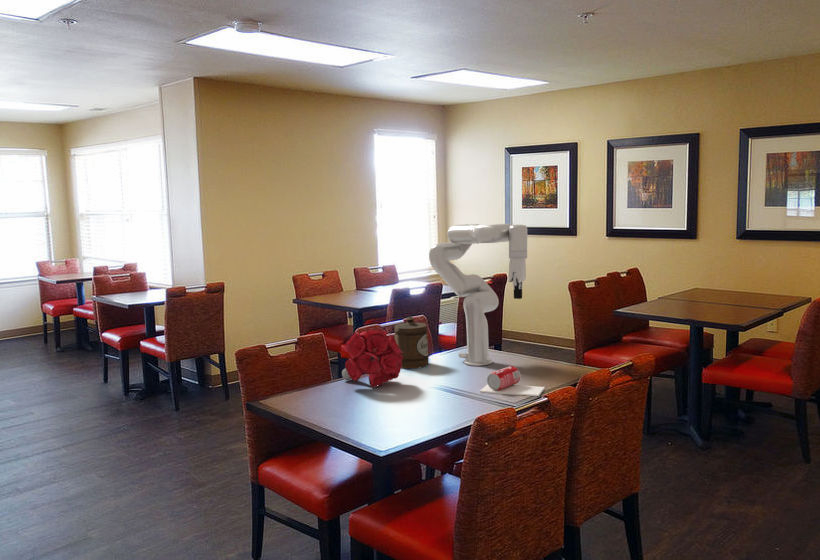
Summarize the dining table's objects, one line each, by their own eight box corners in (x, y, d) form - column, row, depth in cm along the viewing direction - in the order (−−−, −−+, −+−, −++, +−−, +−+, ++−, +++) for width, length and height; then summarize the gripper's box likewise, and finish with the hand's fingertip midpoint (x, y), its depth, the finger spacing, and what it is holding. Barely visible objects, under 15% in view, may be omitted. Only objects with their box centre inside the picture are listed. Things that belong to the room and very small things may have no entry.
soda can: (516, 362, 254) (495, 369, 245) (524, 380, 252) (503, 387, 243) (504, 369, 259) (483, 375, 250) (511, 386, 257) (490, 393, 248)
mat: (480, 392, 248) (480, 390, 248) (488, 384, 258) (488, 383, 258) (538, 396, 239) (538, 394, 239) (544, 388, 249) (544, 387, 249)
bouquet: (335, 404, 263) (381, 376, 245) (316, 350, 270) (359, 319, 252) (373, 395, 279) (420, 368, 261) (354, 344, 286) (398, 315, 268)
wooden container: (428, 368, 289) (426, 318, 287) (394, 369, 290) (392, 320, 287) (428, 360, 304) (426, 313, 302) (396, 361, 304) (394, 314, 302)
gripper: (514, 252, 281) (514, 295, 284) (503, 256, 268) (503, 300, 270) (531, 253, 278) (531, 296, 280) (521, 256, 265) (521, 301, 267)
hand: (517, 298), depth 275 cm, fingers closed
